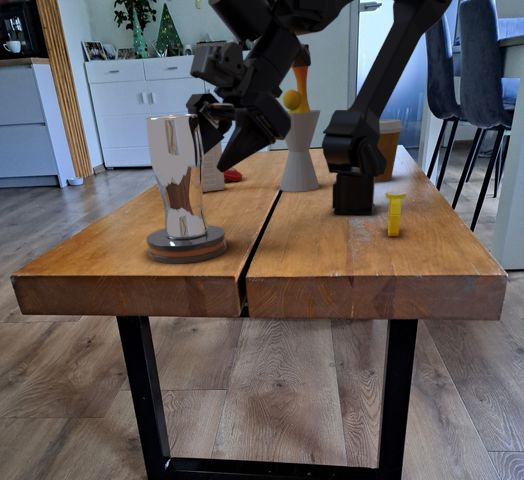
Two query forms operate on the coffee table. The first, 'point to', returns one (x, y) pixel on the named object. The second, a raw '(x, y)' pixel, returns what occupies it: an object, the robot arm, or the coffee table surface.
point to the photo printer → (213, 170)
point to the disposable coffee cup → (388, 145)
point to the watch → (394, 211)
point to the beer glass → (179, 172)
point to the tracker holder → (232, 175)
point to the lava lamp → (299, 137)
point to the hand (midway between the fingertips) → (202, 167)
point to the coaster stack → (186, 246)
